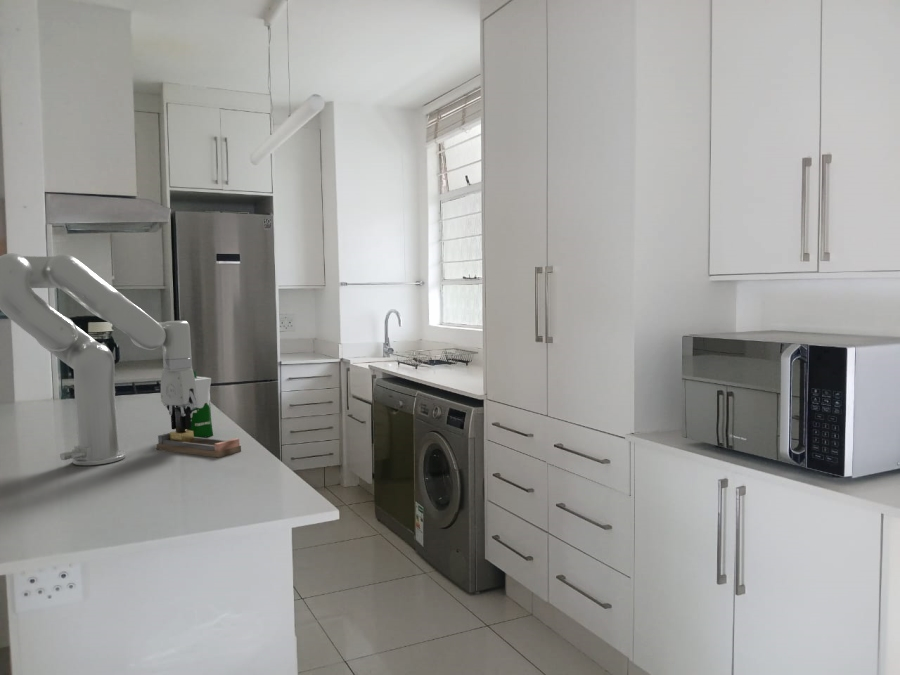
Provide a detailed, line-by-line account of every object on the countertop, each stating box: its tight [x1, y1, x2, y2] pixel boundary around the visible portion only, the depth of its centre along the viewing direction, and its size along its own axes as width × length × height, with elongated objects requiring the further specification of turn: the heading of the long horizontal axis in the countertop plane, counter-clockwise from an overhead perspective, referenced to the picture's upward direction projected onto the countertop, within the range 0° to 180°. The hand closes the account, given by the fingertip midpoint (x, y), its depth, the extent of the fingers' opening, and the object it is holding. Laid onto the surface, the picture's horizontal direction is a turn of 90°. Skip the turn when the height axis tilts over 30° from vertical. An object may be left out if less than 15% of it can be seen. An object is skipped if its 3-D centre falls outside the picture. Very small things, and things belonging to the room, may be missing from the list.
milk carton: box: [186, 370, 214, 438], centre depth 212 cm, size 9×9×20 cm
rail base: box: [155, 432, 242, 458], centre depth 194 cm, size 8×25×4 cm, turn 60°
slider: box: [169, 406, 194, 442], centre depth 197 cm, size 4×5×10 cm
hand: (181, 428), depth 197 cm, fingers closed on slider, 3 cm apart
